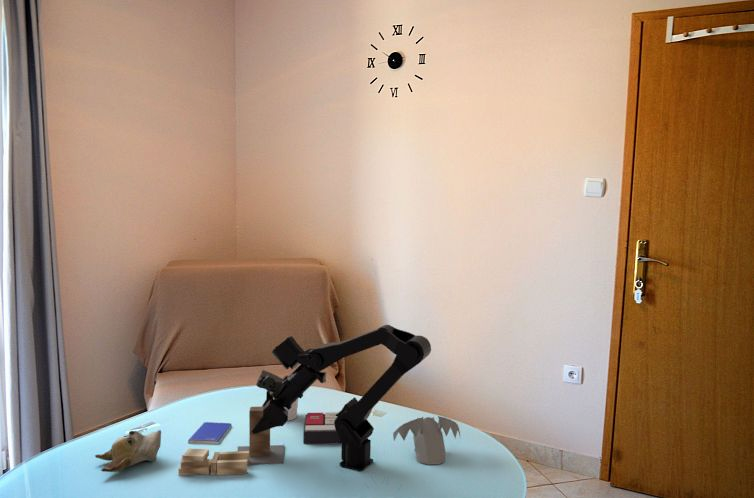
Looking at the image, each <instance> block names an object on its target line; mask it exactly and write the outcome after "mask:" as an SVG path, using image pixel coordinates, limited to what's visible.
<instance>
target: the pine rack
mask: <svg viewBox="0 0 754 498" xmlns="http://www.w3.org/2000/svg"><path fill="white" fill-rule="evenodd" d="M211 459H212V461H211V469H210V475H211V476H221V475H222V476H223V475H224V476H226V475H247V474H248V465H250V464H249V451H237V450H236V451H214V453H213V456H212V458H211Z"/></svg>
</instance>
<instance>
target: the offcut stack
mask: <svg viewBox="0 0 754 498" xmlns="http://www.w3.org/2000/svg"><path fill="white" fill-rule="evenodd" d="M209 456H210V449H209V448H188V449H187V450H186V452H184V453H183V454H181V459H180V465H179V466H178V469H177V470H178V472H177V473H178V476H191V475H193V476H195V475H210V473H211V461H212V458H209Z"/></svg>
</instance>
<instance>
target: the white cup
mask: <svg viewBox="0 0 754 498" xmlns="http://www.w3.org/2000/svg"><path fill="white" fill-rule="evenodd" d="M298 407H299V398H298V399H297V400H296V401H295V402H294V403H293V404H292V407H291V408H290V409H289V410H288V409H287V408H286V407H284V408H285V409H286V410H287V411H288V421H292V420H293V421H294V420H295V419H297V417H298Z"/></svg>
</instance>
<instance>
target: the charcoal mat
mask: <svg viewBox="0 0 754 498" xmlns="http://www.w3.org/2000/svg"><path fill="white" fill-rule="evenodd" d="M236 451H249V445H245V446H244V445H243V446H242V445H241V446H240V445H239V446H238V447H237V450H236ZM284 451H285V445H284V444H279V445H278V444H275V445H271V444H270V456H259V457H249V465H271V464H272V465H273V464H283V463H284V455H285V453H284Z"/></svg>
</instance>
